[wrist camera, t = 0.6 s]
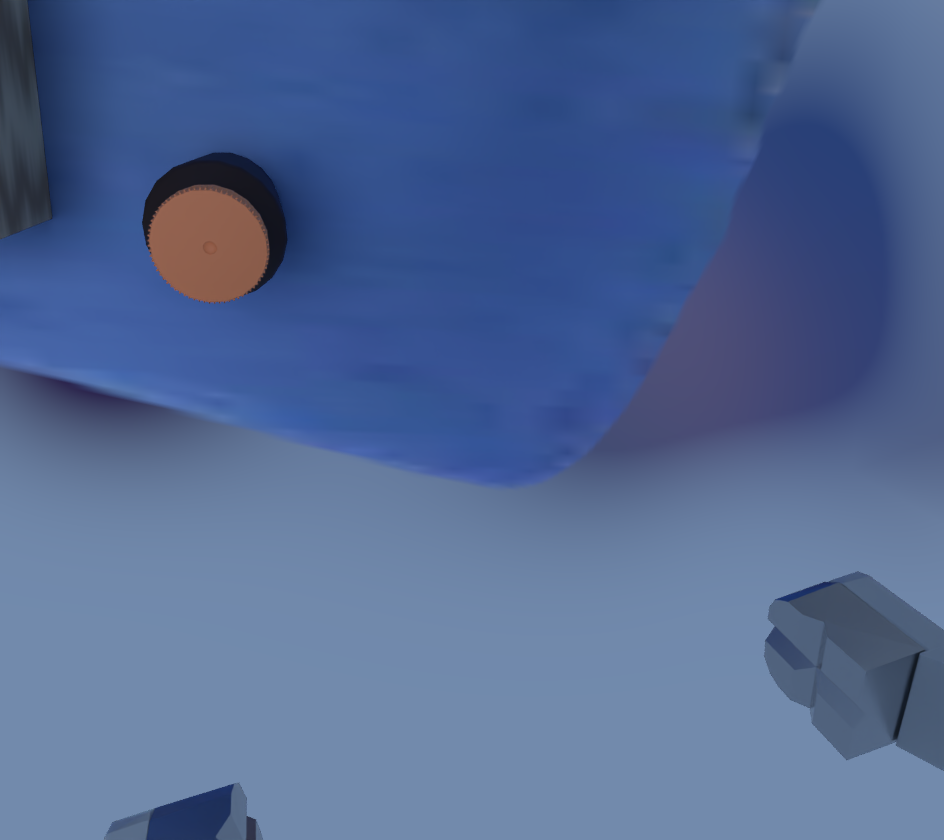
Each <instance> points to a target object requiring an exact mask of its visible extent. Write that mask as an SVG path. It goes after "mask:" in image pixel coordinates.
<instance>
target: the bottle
mask: <svg viewBox="0 0 944 840" xmlns="http://www.w3.org/2000/svg"><path fill="white" fill-rule="evenodd" d="M142 225H143V230H144V235H145V240H146V245H147V247H148V249H149V252H150V253H151V255H150V257H152V259H153V260H152V262H153V261H154V263H155V265H154V266H156V267H157V268H158V269H157V270H156V271H159V272H160V275H161V276H162V277H163V280H164V279H165V280H166V281H167V283H169V284H170V285H171V286H170V287H172V286H173V287H174V288H175V291H176V290H178V291H180V292H179V294H180V293H183V294H184V296H185V295H187V296H189V298H190V297H191V298H194V300H195V299H198V300H199V302H200V300H202V301H204V303H205V301H206V302H209V304H210V302H214V304H215V302H219V304H220V302H222V301H224V303H225V301H229V302H230V300H232V299H233V300H234V301H235V298H238V299H239V297H240V296H242V297H243V295H245V294H248V293H251V292H253V291H256V290H258V289H259V288H260V287H261V286H262V285H264V284H265V283H266V282H267V281H269V280H270V279H271V278H272V277H273V275H274V274H275V272H276V271H277V269H278V267H279V266H280V264H281V262H282V261H283V257H284V253H285V248H286V244H287V233H286V223H285V217H284V214H283V210H282V207H281V203H280V200H279V197H278V194H277V192H276V189H275V187H274V185H273V182H272V180H271V179H270V178H269V177H268V176H267V174H266V173H265V172H264V171H263V170H262V168H261V167H259V166H258V165H256V164H255V163H253V162H252V161H250V160H249V159H247V158H245V157H242V156H239V155H236V154H233V153H212V154H209V155H206V156H203V157H200V158H197V159H195V160H192V161H189V162H186V163H184V164H181V165H178V166H176V167H173V168H172V169H171V170H170V171H168V172H167V173H166V174H165V175H163V176H162V177H161V178H160V179H159V180H157V181H156V183H155V185H154V186H153V188H152V190H151V192H150V194H149V195H148V197H147V199H146V201H145V208H144V215H143V221H142Z"/></svg>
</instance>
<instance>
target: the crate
mask: <svg viewBox="0 0 944 840" xmlns="http://www.w3.org/2000/svg"><path fill="white" fill-rule="evenodd" d="M50 219H52V212H51V203H50V194H49V186H48V177H47V168H46V160H45V151H44V142H43V133H42V125H41V116H40V107H39V99H38V90H37V81H36V72H35V64H34V55H33V46H32V38H31V29H30V20H29V11H28V3H27V0H0V239H2V238H5V237H7V236H10V235H12V234H15V233H17V232H20V231H22V230H25V229H27V228H30V227H32V226H35V225H37V224H40V223H42V222H45V221H47V220H50Z"/></svg>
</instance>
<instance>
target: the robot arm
mask: <svg viewBox="0 0 944 840" xmlns="http://www.w3.org/2000/svg"><path fill="white" fill-rule="evenodd" d="M768 619H769V621H770V622H771V623H772V624H773V625H774V626H775V627H774V628H773V630H772V631H771V633H770V634H769V636H768V637H767V639H766V640H765V655H764V657H765V660H766V663H767V665H768V668H769V671H770V674H771V676H772V677H773V678H774V680H775V682H776V684H777V685H778V687H779V688H780V689H781V690H782V691H783V692H784V693H785V694H786V695H787V697H788V698H789V699H790V700H792V701H794V702H797V703H799V704H801V705H804V706H806V707H808V708H810V714H811V719H812V724H813V725H814V726H815V727H816V728H817V729H818V730H819V731H820V732H821V733H822V734H823V735H824V736H825V738H826V739H827V740H828V741H829V742H830V743H831V744H832V745H833V746H834V747H835V748H836V749H837V750H838V752H839V753H840V754H841V755H842V756H843V757H844V758H845V759H846V760H849V759H851V758H854V757H857V756H859V755H862V754H865V753H868V752H870V751H873V750H875V749H878V748H881V747H884V746H886V745H889V744H892V743H894V742H897V743H896V746H898V747H900V748H901V749H903V750H905V751H907V752H909V753H911V754H913V755H915V756H917V757H918V758H920V759H922V760H924V761H926V762H928V763H930V764H932V765H933V766H935V767H937V768H939V769H941V770H943V771H944V630H943V629H942V628H940V627H939V626H937V625H936V624H935V623H933V622H932V621H931V620H929V619H928V618H927V617H925V616H924V615H922V614H921V613H920V612H918V611H917V610H916V609H914V608H913V607H911V606H910V605H909V604H907V603H906V602H905V601H903V600H902V599H900V598H899V597H898V596H896V595H895V594H894V593H892V592H891V591H890V590H888V589H887V588H885V587H884V586H883V585H881V584H880V583H879V582H877V581H876V580H874V579H873V578H872V577H870V576H869V575H867V574H863V573H860V572H855V573H852V574H849V575H846V576H843V577H840V578H837V579H834V580H831V581H829V582H823V583H820V584H817V585H814V586H812V587H809V588H806V589H803V590H801V591H798V592H795V593H792V594H789V595H786V596H784V597H781V598H778V599H775V600H774V602H773V603H772V604H771V605H770V608H769V614H768ZM246 804H247V798H246V796H245V794H244V792H243V790H242V788H241V786H240V784H239V783H235V784H232V785H228V786H225V787H222V788H219V789H215V790H212V791H209V792H206V793H202V794H199V795H196V796H193V797H189V798H186V799H183V800H180V801H177V802H173V803H170V804H167V805H164V806H160V807H158V808H154V809H151V810H148V811H145V812H142V813H139V814H136V815H133V816H130V817H127V818H124V819H121V820H118V821H114V822H112V824H111V826H110V828H109V830H108V832H107V834H106V836H105V838H104V840H263V838H262V835H261V831H260V829H259V826H258V824H257V821H256V819H253V818H251V817H248V816H246V813H247V812H246V810H247V805H246Z"/></svg>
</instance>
